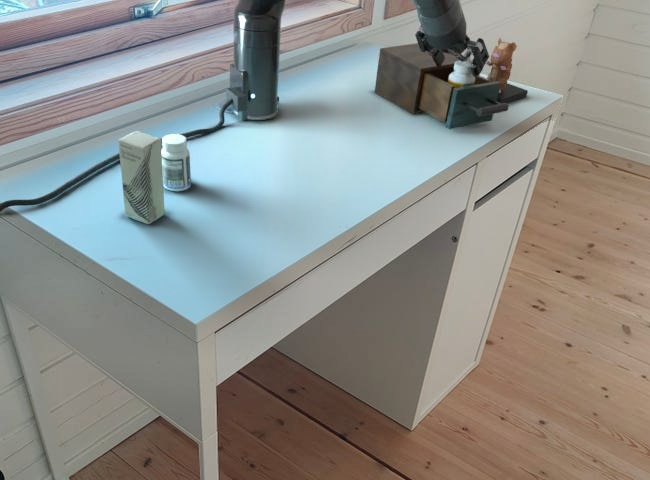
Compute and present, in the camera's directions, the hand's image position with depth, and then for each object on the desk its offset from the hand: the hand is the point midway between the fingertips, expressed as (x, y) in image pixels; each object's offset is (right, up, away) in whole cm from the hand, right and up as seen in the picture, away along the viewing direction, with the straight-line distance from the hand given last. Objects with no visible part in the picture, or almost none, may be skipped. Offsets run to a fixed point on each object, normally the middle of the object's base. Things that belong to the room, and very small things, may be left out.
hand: (458, 67), depth 139 cm
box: (-58, -37, -30) cm, 75 cm away
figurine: (+13, +1, +18) cm, 23 cm away
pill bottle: (-55, -30, -21) cm, 66 cm away
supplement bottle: (0, -7, +4) cm, 9 cm away
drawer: (+1, -9, +4) cm, 10 cm away
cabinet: (-6, -1, +14) cm, 16 cm away
